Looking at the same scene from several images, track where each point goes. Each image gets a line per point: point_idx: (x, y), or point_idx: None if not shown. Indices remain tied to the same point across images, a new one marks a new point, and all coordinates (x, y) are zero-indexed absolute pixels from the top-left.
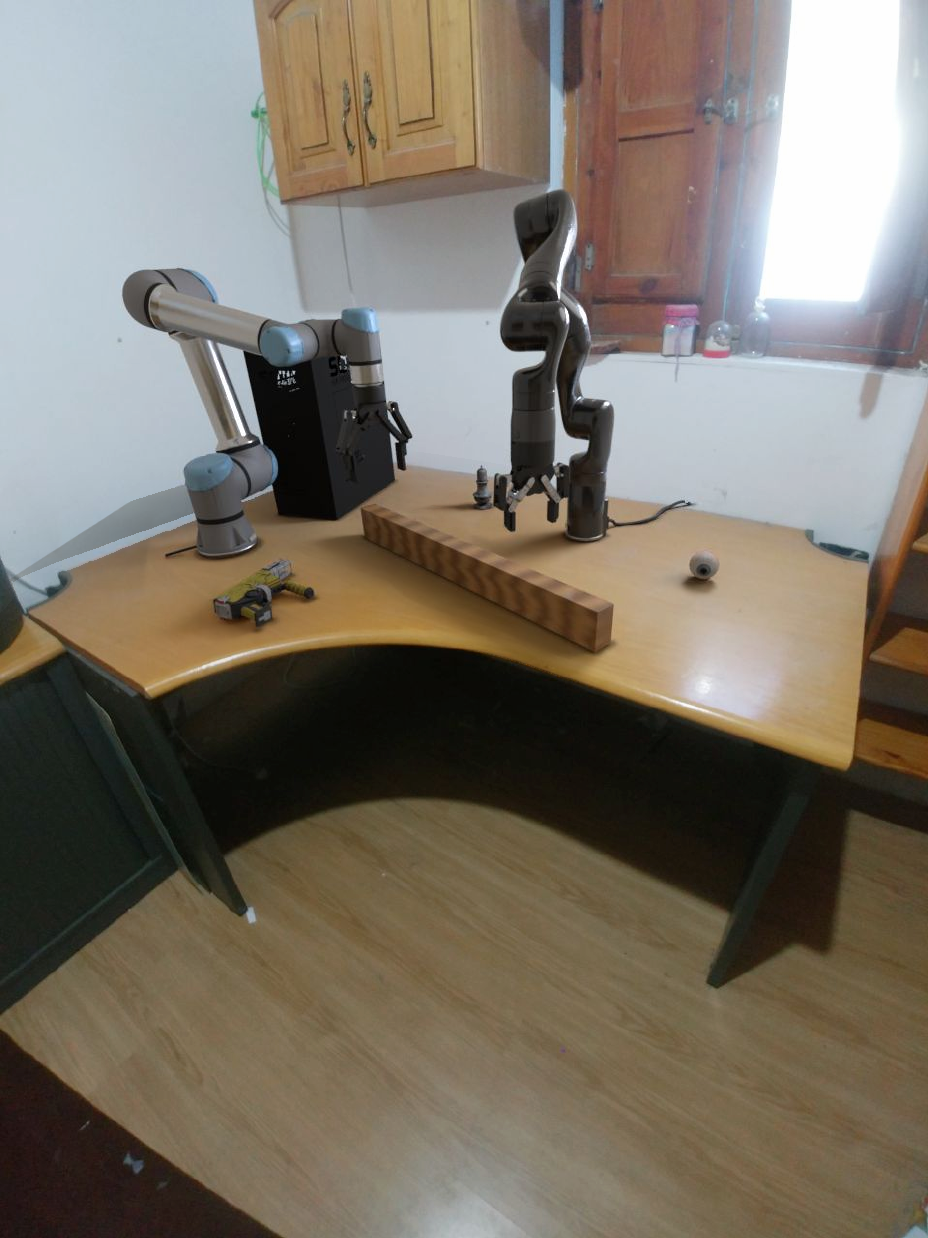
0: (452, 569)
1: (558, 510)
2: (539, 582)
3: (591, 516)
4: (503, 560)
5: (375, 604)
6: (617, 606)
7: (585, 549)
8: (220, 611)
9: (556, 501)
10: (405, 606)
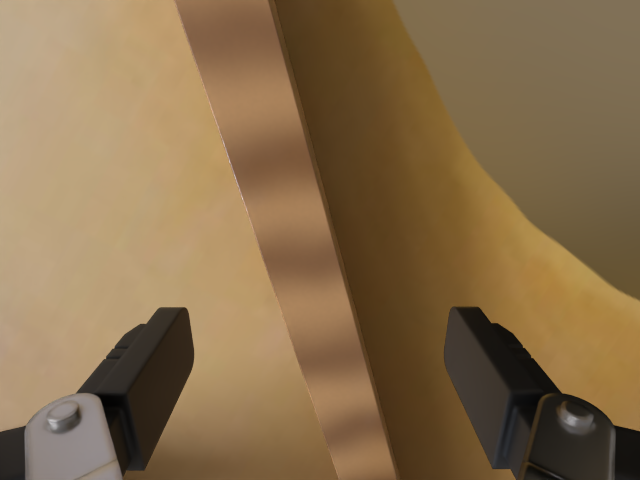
0: (388, 437)
1: (106, 360)
2: (299, 199)
3: None
4: (318, 374)
5: None
6: (82, 131)
7: (30, 411)
8: None
9: (89, 405)
10: None
